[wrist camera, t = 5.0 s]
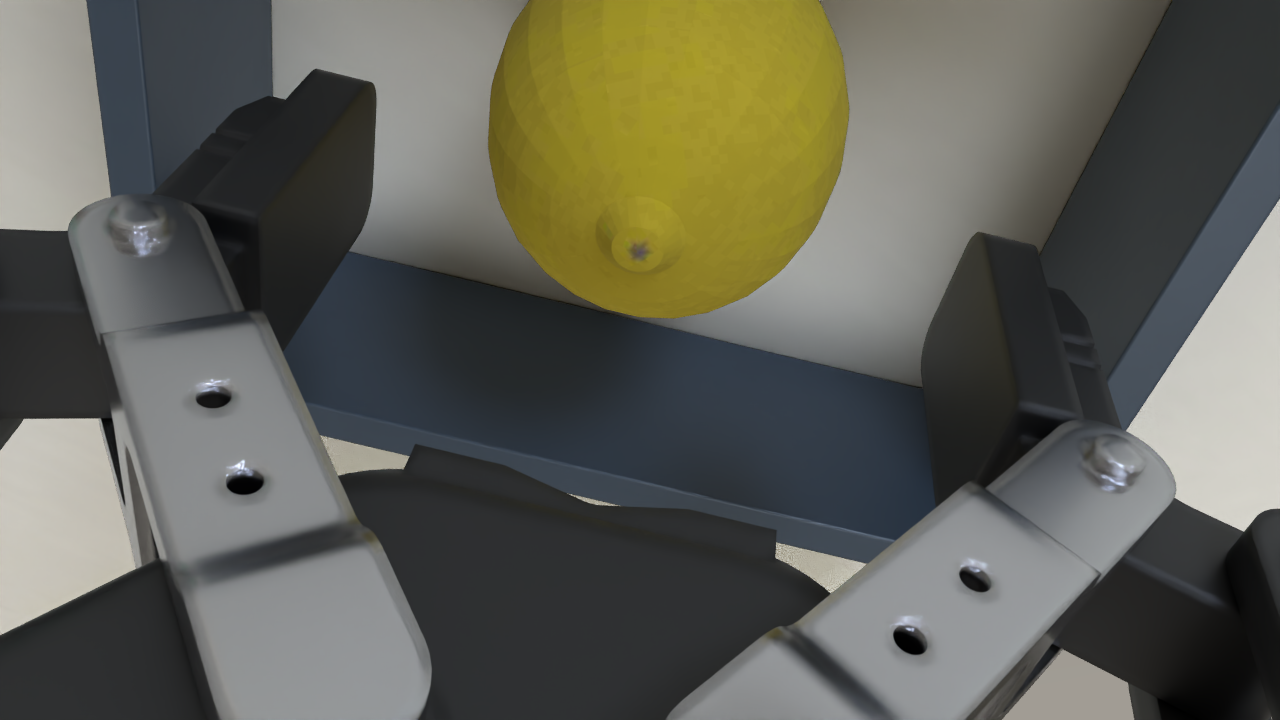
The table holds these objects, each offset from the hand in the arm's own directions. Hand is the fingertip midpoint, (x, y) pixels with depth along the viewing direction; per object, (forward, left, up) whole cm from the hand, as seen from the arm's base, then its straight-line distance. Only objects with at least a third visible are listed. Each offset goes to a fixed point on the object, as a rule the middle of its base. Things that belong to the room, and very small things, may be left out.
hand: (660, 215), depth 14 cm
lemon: (0, 0, -8) cm, 8 cm away
